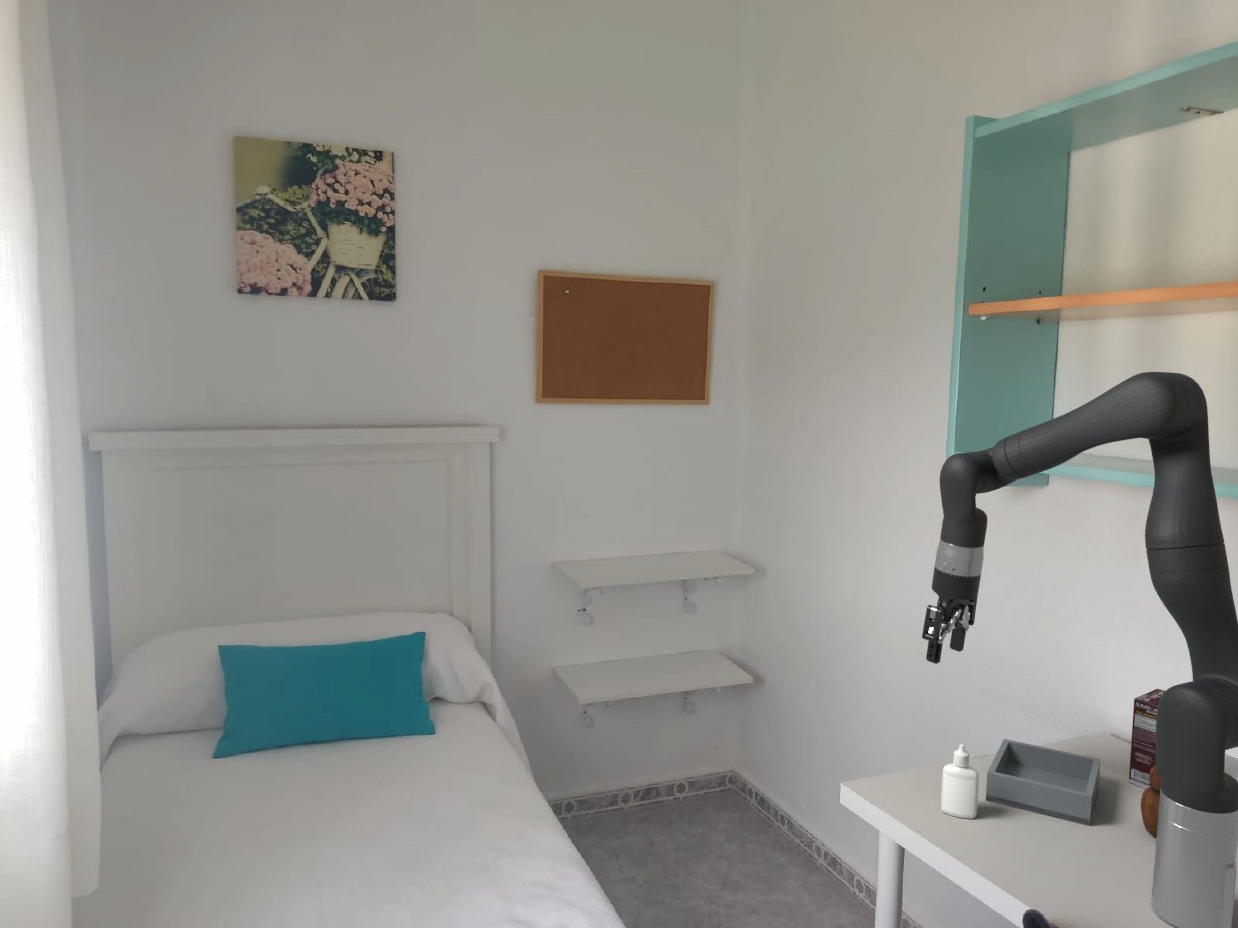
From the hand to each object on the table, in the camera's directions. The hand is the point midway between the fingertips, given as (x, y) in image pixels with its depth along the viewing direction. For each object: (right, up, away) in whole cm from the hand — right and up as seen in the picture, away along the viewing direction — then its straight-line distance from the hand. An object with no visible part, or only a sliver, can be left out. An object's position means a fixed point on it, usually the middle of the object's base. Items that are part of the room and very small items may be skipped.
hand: (944, 655), depth 159 cm
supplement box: (+39, -24, +5) cm, 46 cm away
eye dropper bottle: (0, -25, -6) cm, 26 cm away
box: (+18, -24, +1) cm, 30 cm away
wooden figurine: (+30, -26, -13) cm, 42 cm away
